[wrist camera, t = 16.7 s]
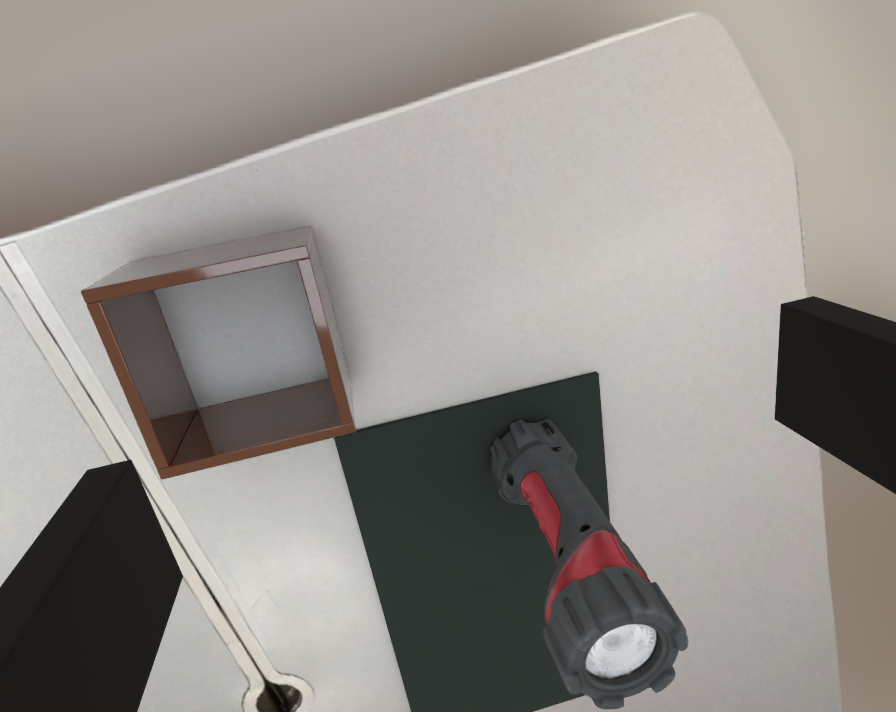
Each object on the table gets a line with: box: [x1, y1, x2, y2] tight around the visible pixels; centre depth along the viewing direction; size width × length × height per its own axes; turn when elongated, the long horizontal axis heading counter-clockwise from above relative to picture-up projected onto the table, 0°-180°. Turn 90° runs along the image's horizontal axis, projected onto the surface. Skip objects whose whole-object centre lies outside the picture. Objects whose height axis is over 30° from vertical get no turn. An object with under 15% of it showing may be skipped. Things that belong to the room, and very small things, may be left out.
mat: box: [334, 372, 610, 712], centre depth 58 cm, size 24×40×1 cm, turn 10°
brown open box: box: [81, 226, 356, 479], centre depth 40 cm, size 13×13×9 cm
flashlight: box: [490, 419, 688, 709], centre depth 42 cm, size 8×8×23 cm
